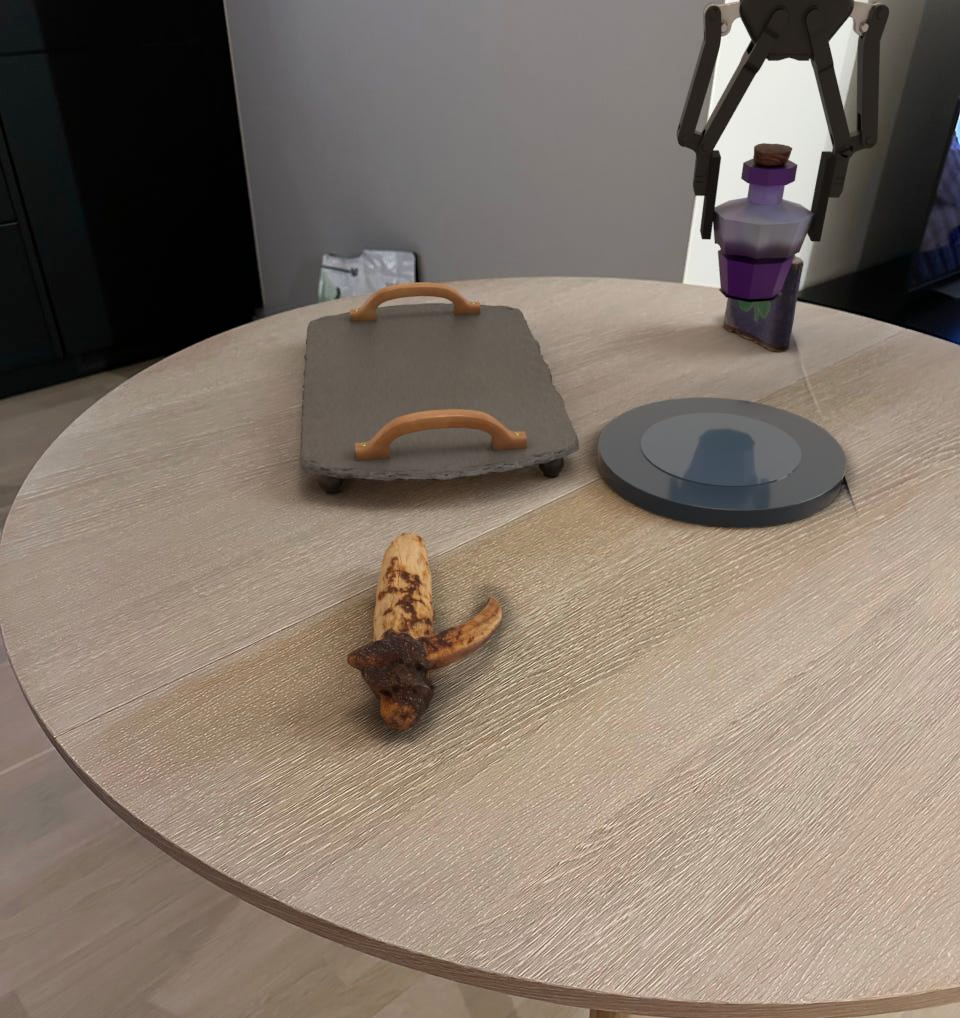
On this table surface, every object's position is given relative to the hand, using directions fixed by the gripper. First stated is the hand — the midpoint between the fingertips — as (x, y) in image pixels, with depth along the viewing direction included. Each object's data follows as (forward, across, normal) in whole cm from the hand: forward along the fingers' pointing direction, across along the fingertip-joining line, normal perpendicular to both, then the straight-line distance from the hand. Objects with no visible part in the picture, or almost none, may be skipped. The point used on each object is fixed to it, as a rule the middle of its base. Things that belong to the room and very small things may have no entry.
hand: (758, 235), depth 84 cm
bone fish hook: (+14, -23, -42) cm, 50 cm away
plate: (+14, -3, -16) cm, 22 cm away
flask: (+14, +3, +13) cm, 20 cm away
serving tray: (+14, -29, -6) cm, 33 cm away
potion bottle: (+5, 0, 0) cm, 5 cm away
